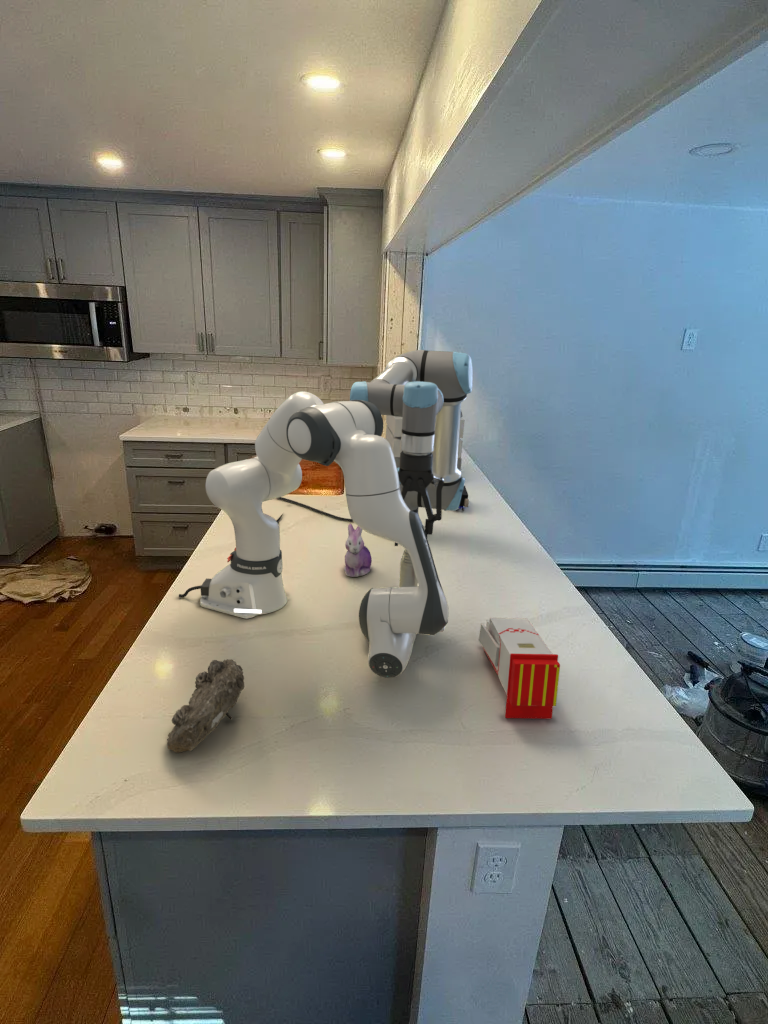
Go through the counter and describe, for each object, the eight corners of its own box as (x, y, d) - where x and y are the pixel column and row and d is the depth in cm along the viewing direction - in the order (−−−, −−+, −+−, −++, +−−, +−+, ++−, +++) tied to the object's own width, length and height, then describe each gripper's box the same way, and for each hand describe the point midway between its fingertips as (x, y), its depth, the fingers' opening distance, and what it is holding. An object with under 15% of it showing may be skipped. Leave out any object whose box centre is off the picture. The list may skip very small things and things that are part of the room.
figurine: (350, 580, 164) (351, 532, 159) (336, 566, 172) (336, 520, 167) (379, 575, 168) (381, 528, 163) (364, 561, 176) (365, 516, 171)
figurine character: (468, 516, 224) (463, 500, 237) (471, 498, 221) (465, 483, 234) (452, 515, 224) (447, 499, 237) (453, 498, 220) (449, 482, 234)
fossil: (192, 660, 117) (244, 628, 112) (224, 691, 120) (276, 661, 115) (142, 746, 98) (202, 712, 93) (182, 779, 101) (242, 748, 96)
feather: (290, 508, 223) (292, 504, 223) (272, 532, 197) (275, 527, 196) (286, 505, 223) (289, 501, 223) (268, 529, 197) (271, 525, 196)
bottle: (416, 626, 142) (421, 544, 134) (397, 626, 142) (402, 544, 134) (413, 617, 146) (419, 537, 139) (396, 617, 146) (400, 537, 138)
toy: (525, 603, 136) (569, 660, 107) (520, 654, 139) (562, 725, 109) (475, 601, 135) (505, 659, 106) (471, 653, 138) (499, 724, 109)
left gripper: (444, 621, 127) (450, 593, 140) (356, 609, 131) (369, 582, 143) (442, 645, 129) (447, 615, 142) (355, 632, 133) (368, 604, 146)
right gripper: (458, 450, 132) (450, 542, 140) (376, 445, 133) (373, 536, 141) (459, 458, 125) (451, 554, 133) (373, 452, 126) (369, 548, 134)
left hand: (407, 598), depth 143 cm, fingers closed on bottle, 4 cm apart
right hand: (410, 544), depth 137 cm, fingers open, 6 cm apart
